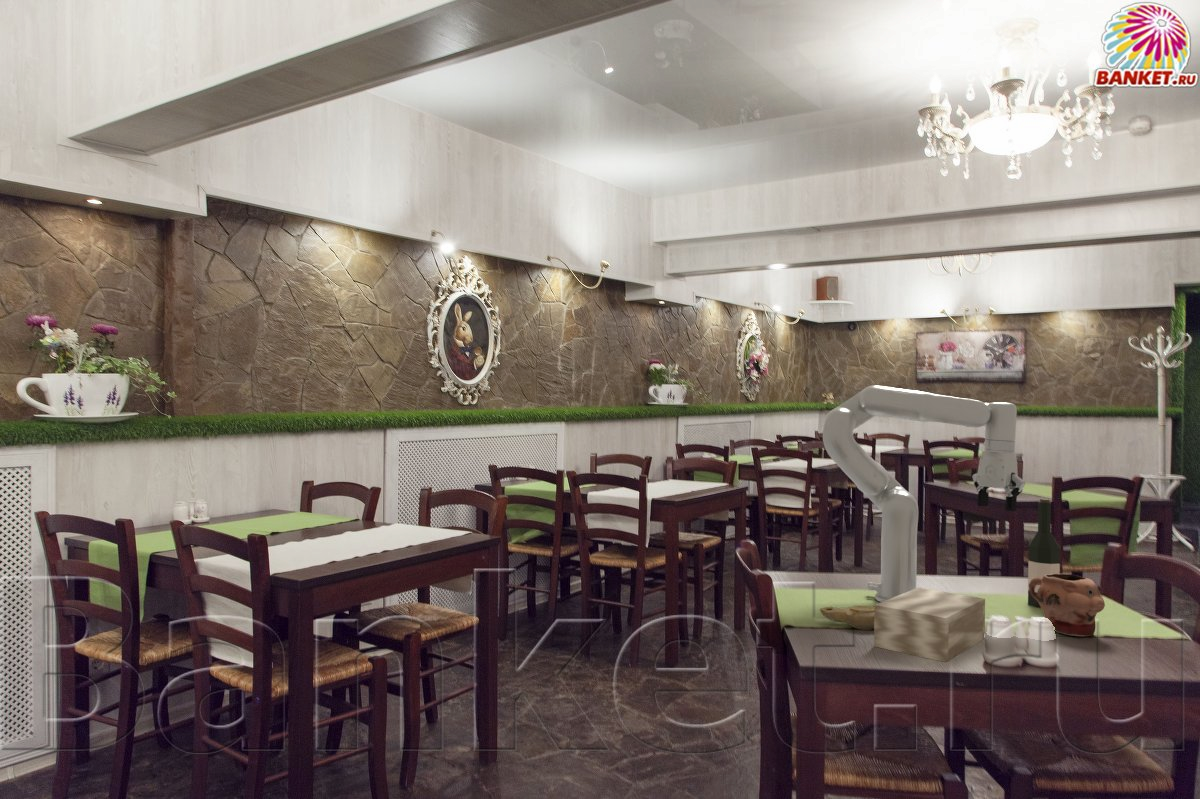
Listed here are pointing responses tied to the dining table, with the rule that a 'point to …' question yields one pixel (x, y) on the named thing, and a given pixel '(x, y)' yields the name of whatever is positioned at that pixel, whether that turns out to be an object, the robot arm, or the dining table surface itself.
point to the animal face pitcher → (1068, 602)
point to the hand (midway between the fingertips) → (996, 508)
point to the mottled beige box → (929, 623)
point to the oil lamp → (852, 616)
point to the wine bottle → (1042, 550)
